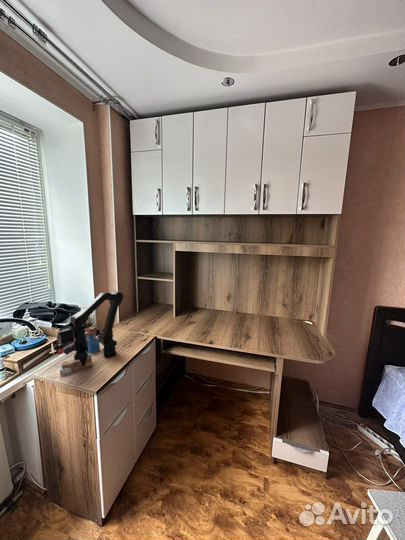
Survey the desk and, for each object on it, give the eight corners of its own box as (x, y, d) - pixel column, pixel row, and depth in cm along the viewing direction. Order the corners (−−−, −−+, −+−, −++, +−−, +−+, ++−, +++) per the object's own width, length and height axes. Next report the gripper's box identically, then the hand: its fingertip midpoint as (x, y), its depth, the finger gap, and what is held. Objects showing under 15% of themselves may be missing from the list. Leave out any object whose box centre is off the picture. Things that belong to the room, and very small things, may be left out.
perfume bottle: (85, 351, 144) (83, 334, 142) (94, 347, 149) (92, 330, 148) (91, 354, 141) (88, 335, 139) (100, 349, 146) (97, 332, 144)
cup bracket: (72, 366, 127) (72, 361, 127) (71, 373, 120) (70, 367, 120) (62, 368, 125) (61, 363, 125) (60, 376, 118) (59, 370, 118)
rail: (92, 361, 130) (90, 354, 129) (92, 365, 126) (90, 357, 125) (64, 370, 124) (62, 362, 123) (63, 373, 120) (61, 365, 120)
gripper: (65, 334, 129) (69, 360, 131) (60, 348, 112) (65, 377, 114) (87, 330, 134) (90, 355, 136) (85, 342, 117) (89, 370, 119)
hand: (83, 363), depth 126 cm, fingers closed on rail, 4 cm apart
